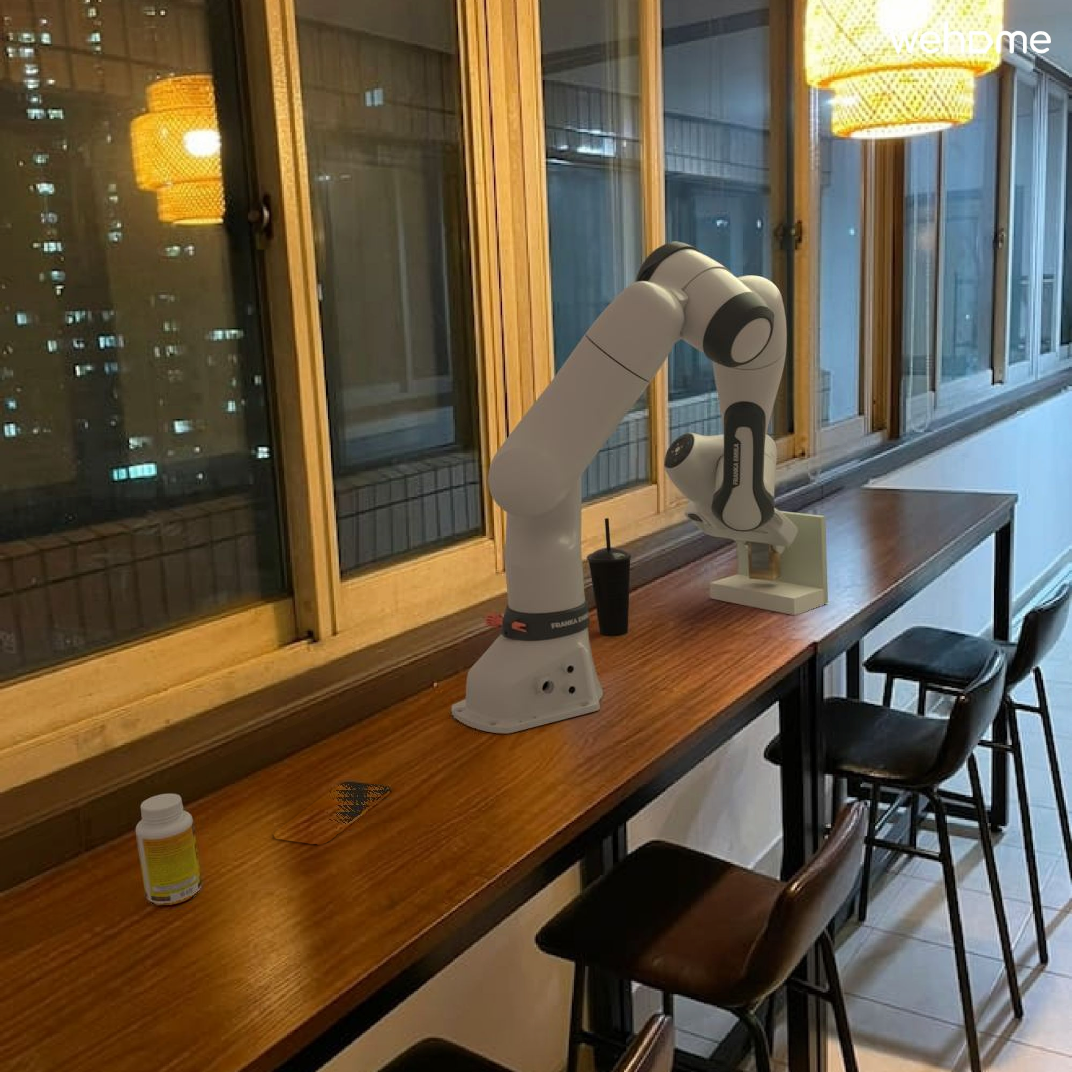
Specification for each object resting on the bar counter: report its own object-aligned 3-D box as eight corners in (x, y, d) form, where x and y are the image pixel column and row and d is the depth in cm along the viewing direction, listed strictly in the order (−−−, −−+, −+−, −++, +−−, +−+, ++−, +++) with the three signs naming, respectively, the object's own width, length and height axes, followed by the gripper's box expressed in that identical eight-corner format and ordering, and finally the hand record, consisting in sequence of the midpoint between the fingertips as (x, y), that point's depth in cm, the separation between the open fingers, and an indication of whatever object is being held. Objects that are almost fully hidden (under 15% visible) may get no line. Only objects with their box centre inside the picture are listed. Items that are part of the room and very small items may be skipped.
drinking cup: (633, 638, 193) (626, 522, 189) (589, 638, 194) (580, 523, 190) (638, 625, 200) (631, 513, 196) (595, 626, 202) (587, 515, 198)
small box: (773, 580, 205) (771, 526, 203) (748, 578, 208) (746, 524, 206) (780, 576, 208) (778, 522, 206) (756, 574, 210) (754, 521, 209)
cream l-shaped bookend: (794, 615, 199) (791, 525, 195) (710, 598, 214) (705, 514, 211) (828, 603, 204) (825, 516, 201) (743, 587, 220) (739, 506, 217)
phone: (268, 835, 128) (343, 780, 141) (269, 842, 128) (343, 786, 141) (323, 843, 125) (394, 786, 138) (324, 850, 125) (395, 793, 138)
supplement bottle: (212, 892, 116) (199, 799, 114) (161, 914, 113) (146, 818, 111) (187, 875, 121) (174, 785, 119) (137, 896, 117) (122, 803, 115)
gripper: (780, 494, 192) (819, 540, 200) (693, 485, 208) (731, 528, 216) (764, 524, 190) (803, 570, 198) (676, 513, 206) (716, 556, 214)
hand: (765, 548), depth 207 cm, fingers closed on small box, 5 cm apart
